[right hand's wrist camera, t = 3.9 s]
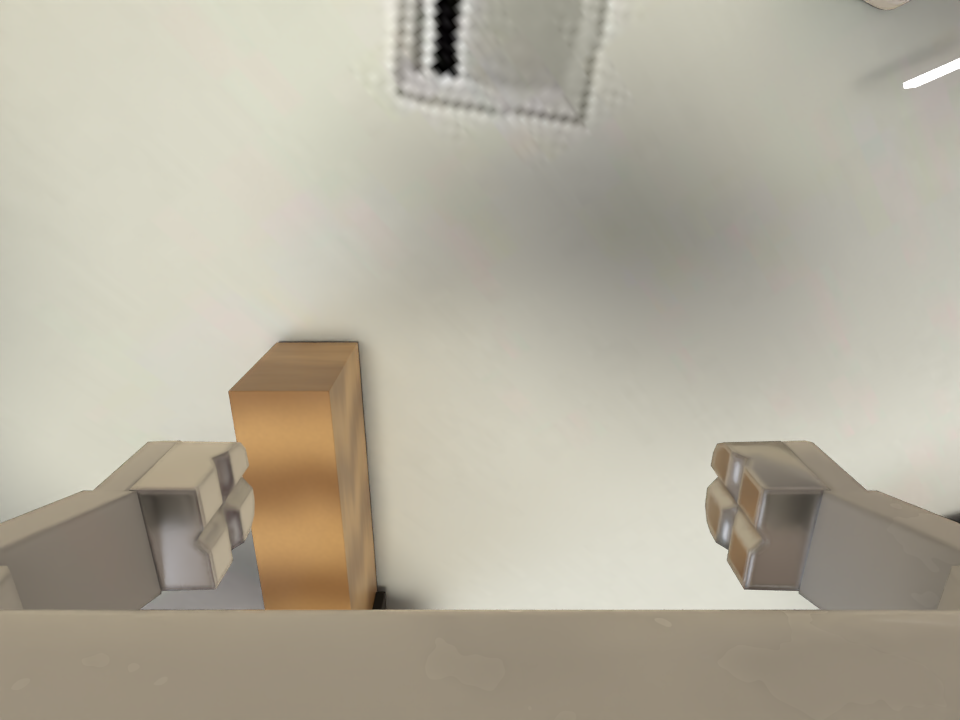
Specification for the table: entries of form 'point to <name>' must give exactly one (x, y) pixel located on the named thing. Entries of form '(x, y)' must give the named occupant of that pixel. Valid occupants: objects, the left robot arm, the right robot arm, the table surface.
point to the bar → (308, 476)
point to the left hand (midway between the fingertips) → (342, 605)
